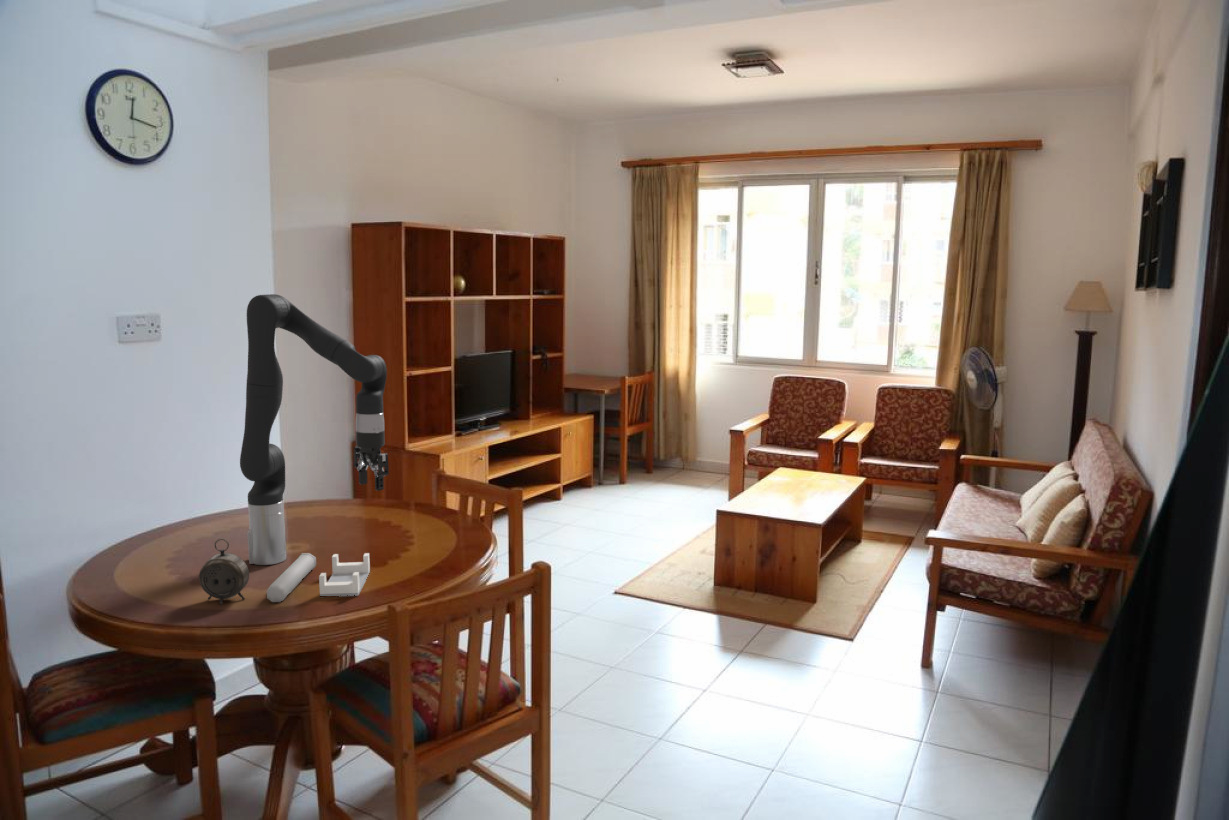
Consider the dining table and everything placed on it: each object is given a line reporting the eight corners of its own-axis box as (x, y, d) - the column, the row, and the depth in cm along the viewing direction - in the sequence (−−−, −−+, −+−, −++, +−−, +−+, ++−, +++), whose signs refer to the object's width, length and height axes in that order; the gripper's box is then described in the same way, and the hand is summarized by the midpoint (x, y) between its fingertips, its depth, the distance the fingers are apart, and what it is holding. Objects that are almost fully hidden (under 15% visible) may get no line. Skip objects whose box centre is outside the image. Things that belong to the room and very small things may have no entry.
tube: (286, 589, 214) (319, 556, 239) (265, 583, 214) (300, 550, 239) (281, 609, 215) (313, 573, 240) (260, 602, 215) (294, 567, 239)
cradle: (320, 597, 220) (319, 576, 219) (334, 573, 237) (333, 554, 236) (358, 595, 220) (357, 575, 220) (370, 572, 238) (369, 553, 237)
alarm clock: (251, 597, 219) (247, 535, 217) (243, 605, 214) (239, 542, 211) (207, 597, 219) (203, 535, 216) (198, 605, 214) (193, 542, 211)
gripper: (344, 426, 238) (345, 484, 241) (371, 434, 228) (372, 494, 231) (369, 423, 243) (370, 480, 246) (396, 431, 233) (397, 490, 236)
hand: (371, 487), depth 238 cm, fingers open, 8 cm apart
